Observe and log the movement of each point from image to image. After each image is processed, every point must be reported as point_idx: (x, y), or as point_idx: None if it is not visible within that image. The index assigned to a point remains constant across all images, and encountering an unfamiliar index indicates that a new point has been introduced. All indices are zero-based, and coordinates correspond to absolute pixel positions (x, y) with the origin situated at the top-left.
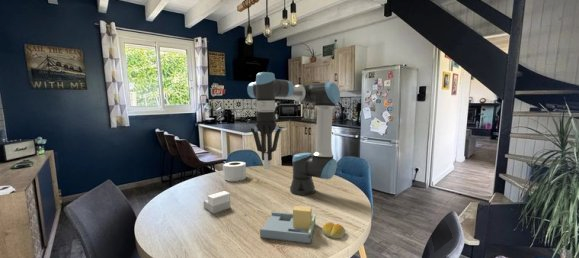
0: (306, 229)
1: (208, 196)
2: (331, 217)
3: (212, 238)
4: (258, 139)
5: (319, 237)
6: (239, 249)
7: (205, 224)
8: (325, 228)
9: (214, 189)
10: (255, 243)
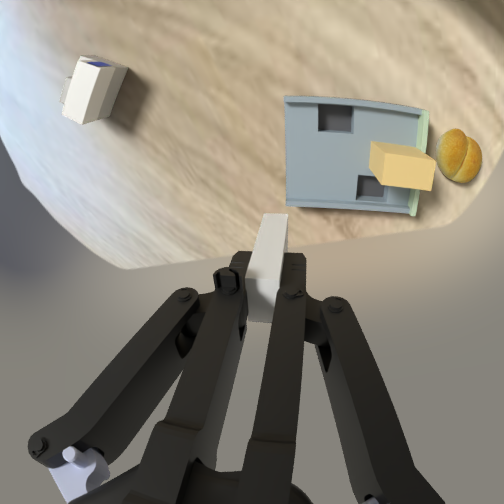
0: None
1: (65, 115)
2: (453, 71)
3: (181, 217)
4: (147, 392)
5: None
6: None
7: (128, 170)
8: (446, 166)
9: (42, 8)
10: None
